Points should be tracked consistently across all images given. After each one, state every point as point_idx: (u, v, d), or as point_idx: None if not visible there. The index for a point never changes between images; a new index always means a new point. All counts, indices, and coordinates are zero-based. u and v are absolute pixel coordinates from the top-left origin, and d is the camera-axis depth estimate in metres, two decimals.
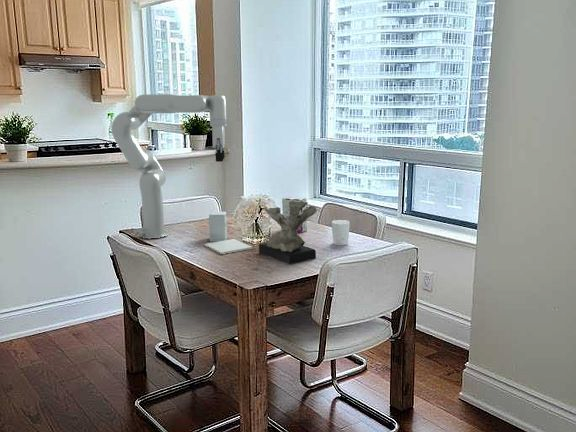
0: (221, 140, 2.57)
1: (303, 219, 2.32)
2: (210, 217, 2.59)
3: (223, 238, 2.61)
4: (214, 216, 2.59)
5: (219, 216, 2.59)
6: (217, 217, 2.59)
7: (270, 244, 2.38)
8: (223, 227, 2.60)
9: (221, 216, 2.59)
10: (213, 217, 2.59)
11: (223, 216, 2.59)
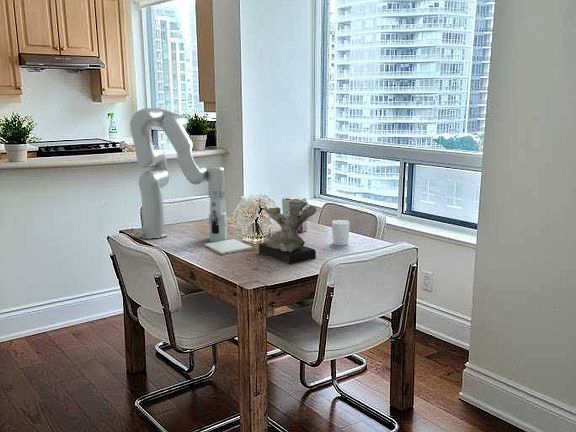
0: None
1: (303, 219, 2.32)
2: (210, 217, 2.59)
3: (223, 238, 2.61)
4: None
5: None
6: None
7: (270, 244, 2.38)
8: (223, 227, 2.60)
9: None
10: None
11: (223, 216, 2.59)
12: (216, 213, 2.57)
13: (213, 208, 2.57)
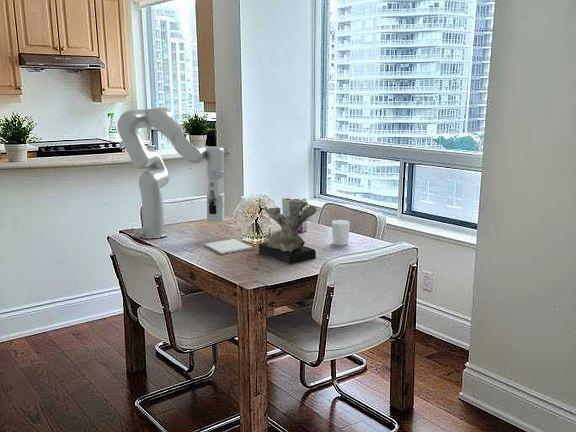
0: None
1: (303, 219, 2.32)
2: None
3: (220, 219, 2.60)
4: None
5: None
6: None
7: (270, 244, 2.38)
8: (221, 208, 2.59)
9: (219, 197, 2.57)
10: None
11: (221, 197, 2.58)
12: (214, 193, 2.55)
13: (211, 188, 2.55)
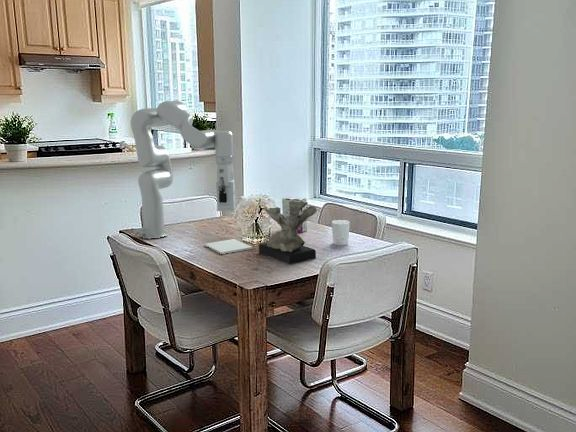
0: None
1: (303, 219, 2.32)
2: (217, 185, 2.42)
3: (231, 207, 2.44)
4: (222, 184, 2.42)
5: None
6: None
7: (270, 244, 2.38)
8: (231, 195, 2.43)
9: None
10: None
11: (231, 184, 2.42)
12: (224, 180, 2.40)
13: (221, 175, 2.40)
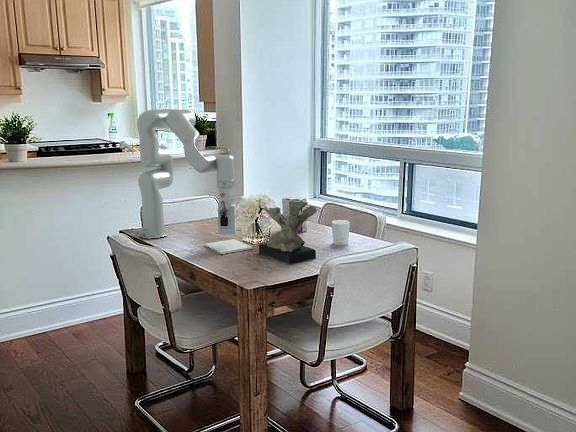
0: None
1: (303, 219, 2.32)
2: None
3: (232, 231, 2.46)
4: None
5: None
6: None
7: (270, 244, 2.38)
8: (233, 219, 2.45)
9: None
10: None
11: (233, 207, 2.44)
12: (225, 204, 2.42)
13: (222, 199, 2.42)
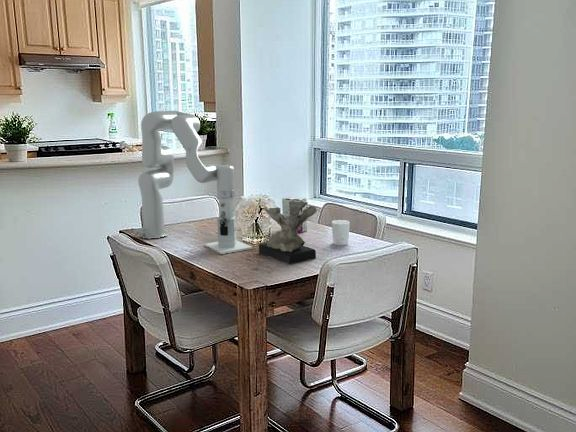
0: None
1: (303, 219, 2.32)
2: (218, 221, 2.46)
3: (232, 244, 2.47)
4: None
5: None
6: None
7: (270, 244, 2.38)
8: (232, 232, 2.46)
9: (230, 221, 2.45)
10: None
11: (232, 220, 2.45)
12: (225, 214, 2.43)
13: (222, 209, 2.43)
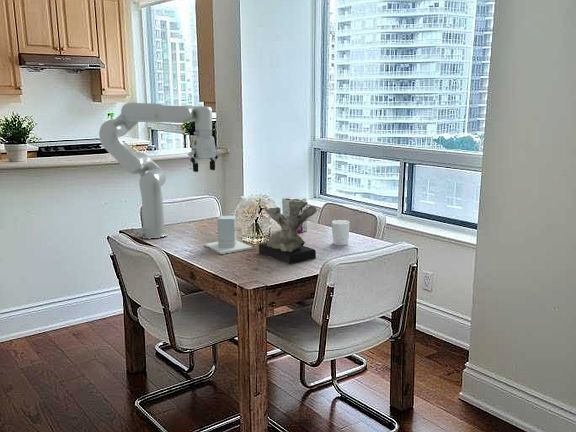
0: None
1: (303, 219, 2.32)
2: (219, 221, 2.46)
3: (232, 244, 2.47)
4: (223, 220, 2.45)
5: (228, 220, 2.45)
6: (226, 221, 2.45)
7: (270, 244, 2.38)
8: (232, 232, 2.46)
9: (230, 221, 2.45)
10: (222, 221, 2.46)
11: (232, 220, 2.45)
12: (196, 152, 2.59)
13: (194, 146, 2.59)
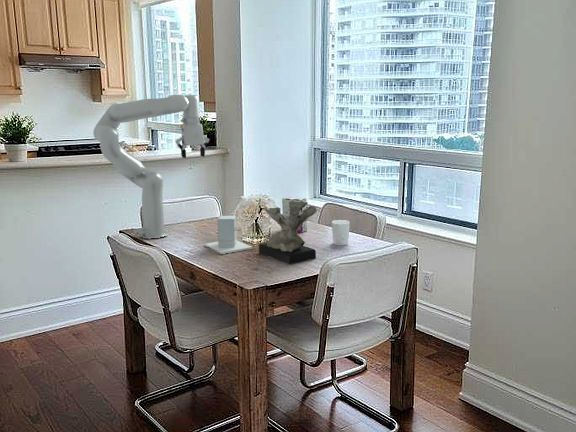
0: None
1: (303, 219, 2.32)
2: (218, 221, 2.46)
3: (232, 244, 2.47)
4: (223, 220, 2.45)
5: (228, 220, 2.45)
6: (226, 221, 2.45)
7: (270, 244, 2.38)
8: (232, 232, 2.46)
9: (230, 221, 2.45)
10: (222, 221, 2.46)
11: (232, 220, 2.45)
12: (183, 138, 2.71)
13: (182, 134, 2.72)
